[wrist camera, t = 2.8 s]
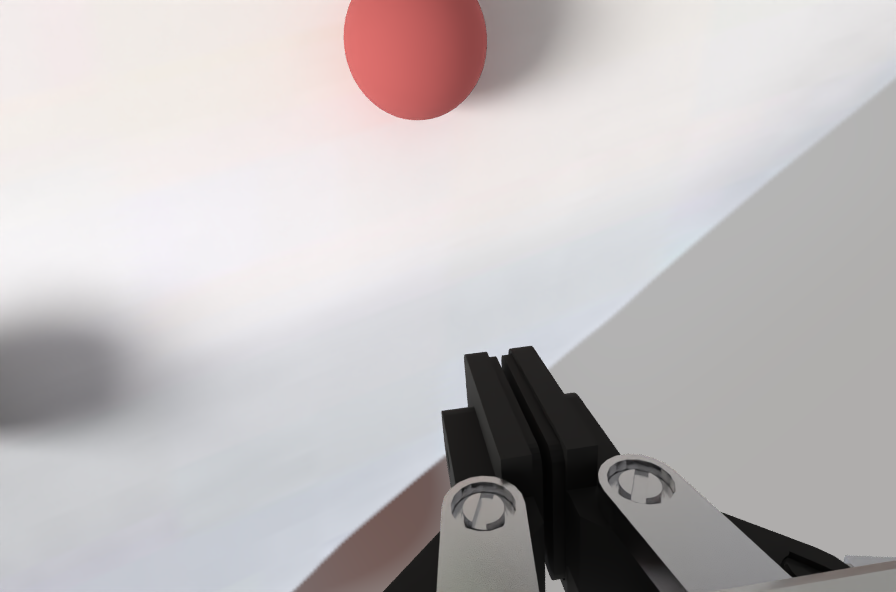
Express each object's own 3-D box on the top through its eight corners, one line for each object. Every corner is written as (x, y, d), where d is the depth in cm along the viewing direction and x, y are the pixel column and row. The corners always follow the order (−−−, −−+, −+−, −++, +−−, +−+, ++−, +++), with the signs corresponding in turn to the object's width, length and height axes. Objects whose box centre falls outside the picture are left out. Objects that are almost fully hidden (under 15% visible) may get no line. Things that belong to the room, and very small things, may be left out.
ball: (339, -14, 22) (323, -63, 16) (469, -22, 22) (497, -72, 17) (359, 126, 24) (350, 126, 18) (477, 115, 24) (504, 112, 19)
